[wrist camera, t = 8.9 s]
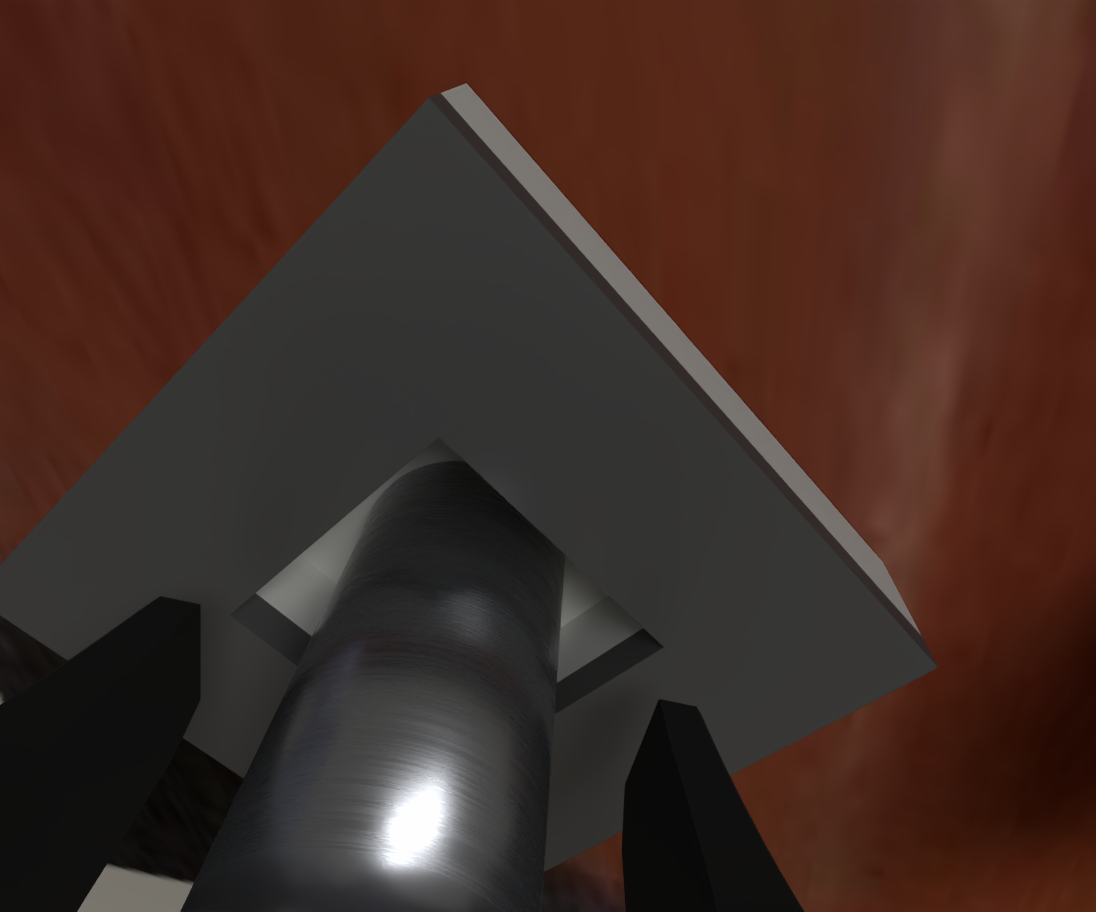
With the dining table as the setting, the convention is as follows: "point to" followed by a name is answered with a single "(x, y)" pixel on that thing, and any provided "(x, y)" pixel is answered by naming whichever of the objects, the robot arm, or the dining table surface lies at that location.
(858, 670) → the socket
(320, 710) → the steel peg
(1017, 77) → the dining table surface
